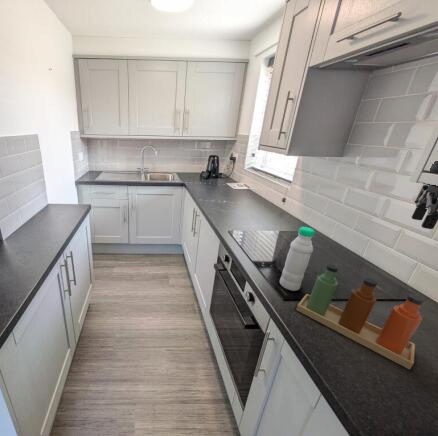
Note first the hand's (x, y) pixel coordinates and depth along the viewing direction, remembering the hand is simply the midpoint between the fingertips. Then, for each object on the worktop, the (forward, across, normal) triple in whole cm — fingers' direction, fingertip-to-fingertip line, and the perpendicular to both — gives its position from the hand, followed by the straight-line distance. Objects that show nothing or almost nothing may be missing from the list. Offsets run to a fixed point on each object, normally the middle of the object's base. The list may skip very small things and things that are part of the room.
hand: (421, 223), depth 68 cm
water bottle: (+33, -3, +26) cm, 43 cm away
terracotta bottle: (+33, -18, 0) cm, 37 cm away
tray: (+33, -16, +9) cm, 38 cm away
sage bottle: (+33, -14, +18) cm, 40 cm away
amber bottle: (+33, -16, +9) cm, 37 cm away
